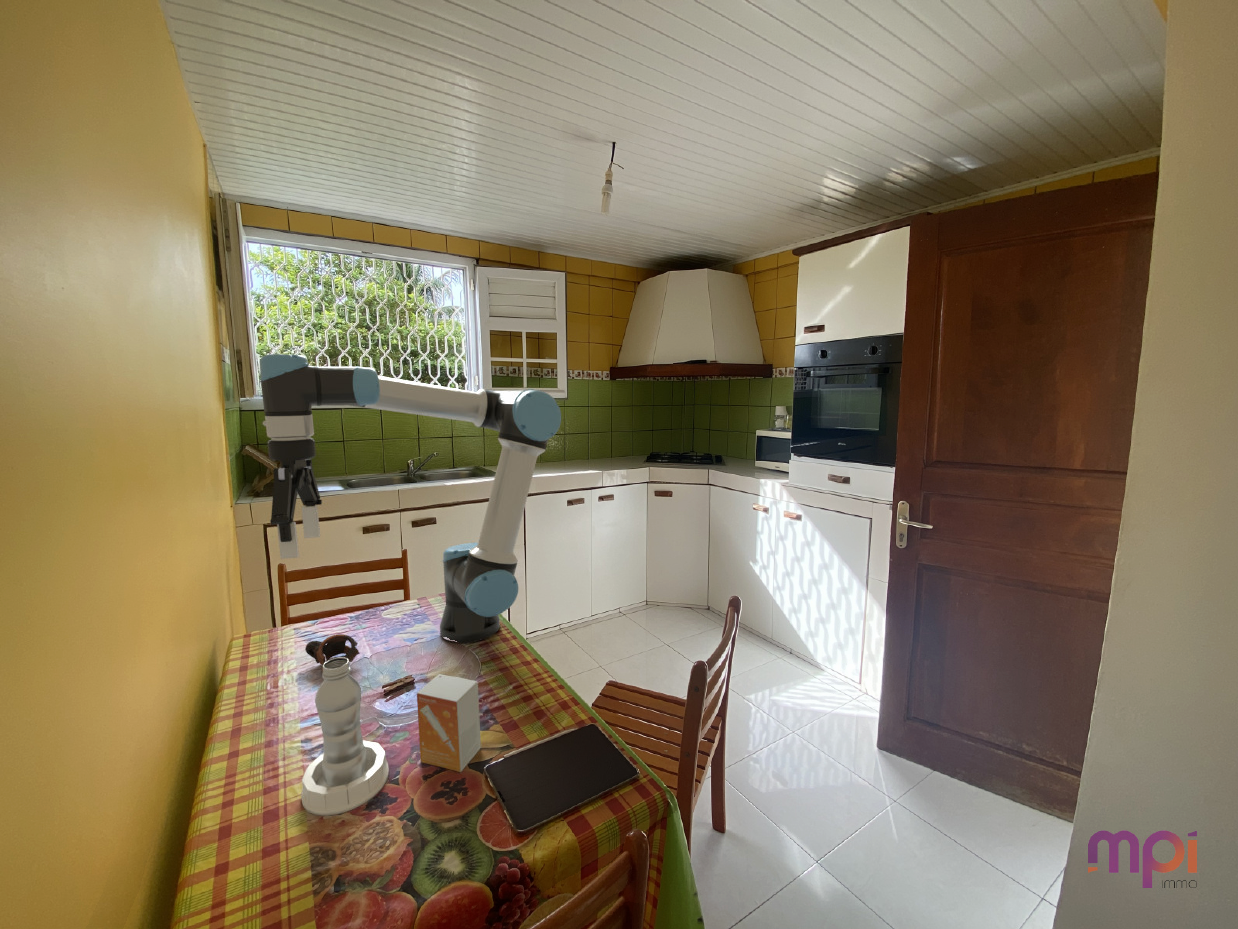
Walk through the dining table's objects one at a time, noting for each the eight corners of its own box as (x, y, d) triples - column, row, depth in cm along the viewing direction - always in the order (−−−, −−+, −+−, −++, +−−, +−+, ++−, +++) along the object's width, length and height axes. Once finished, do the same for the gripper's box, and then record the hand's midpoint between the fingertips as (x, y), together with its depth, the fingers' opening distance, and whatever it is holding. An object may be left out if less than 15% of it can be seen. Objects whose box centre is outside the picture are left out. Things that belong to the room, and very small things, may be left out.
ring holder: (394, 750, 90) (392, 733, 89) (382, 805, 78) (380, 785, 77) (314, 764, 86) (313, 747, 86) (289, 824, 74) (287, 804, 74)
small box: (419, 763, 86) (415, 692, 85) (443, 739, 92) (439, 672, 91) (460, 774, 84) (456, 701, 82) (482, 748, 90) (478, 680, 88)
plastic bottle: (338, 801, 77) (326, 679, 75) (314, 783, 81) (302, 666, 78) (377, 774, 83) (368, 660, 80) (353, 758, 86) (344, 648, 84)
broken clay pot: (366, 654, 124) (366, 633, 119) (348, 690, 116) (346, 669, 111) (315, 644, 122) (313, 623, 118) (293, 680, 114) (289, 659, 110)
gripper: (291, 433, 107) (300, 531, 110) (239, 445, 83) (253, 570, 86) (330, 432, 109) (339, 528, 112) (291, 444, 85) (303, 565, 88)
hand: (301, 547), depth 99 cm, fingers open, 13 cm apart
